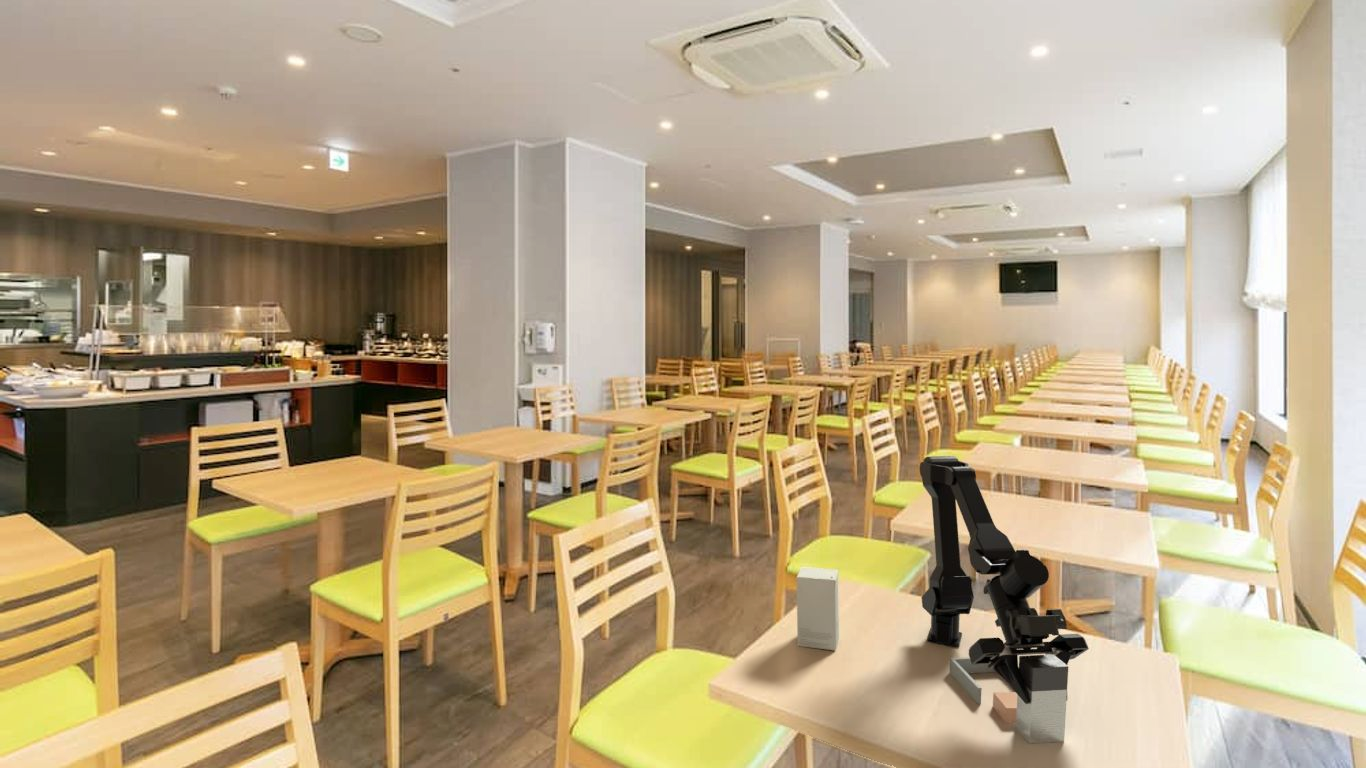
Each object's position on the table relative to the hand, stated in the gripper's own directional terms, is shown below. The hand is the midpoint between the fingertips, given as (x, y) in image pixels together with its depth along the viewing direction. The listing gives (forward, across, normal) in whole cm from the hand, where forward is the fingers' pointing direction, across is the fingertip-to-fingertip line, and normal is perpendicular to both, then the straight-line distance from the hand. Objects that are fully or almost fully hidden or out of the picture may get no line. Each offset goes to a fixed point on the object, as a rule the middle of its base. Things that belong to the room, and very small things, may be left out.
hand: (1046, 702), depth 115 cm
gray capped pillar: (+4, 0, +6) cm, 7 cm away
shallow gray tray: (-7, 0, +16) cm, 18 cm away
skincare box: (-21, -28, +31) cm, 47 cm away
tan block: (0, 0, +10) cm, 10 cm away
